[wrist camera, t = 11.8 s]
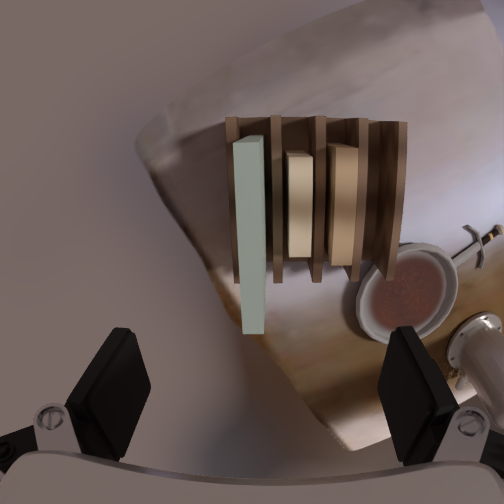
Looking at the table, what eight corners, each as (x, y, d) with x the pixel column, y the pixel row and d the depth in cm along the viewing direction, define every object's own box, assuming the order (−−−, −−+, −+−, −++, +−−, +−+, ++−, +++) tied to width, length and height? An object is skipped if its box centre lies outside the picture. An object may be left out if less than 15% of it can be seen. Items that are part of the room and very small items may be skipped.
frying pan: (516, 271, 39) (382, 365, 46) (506, 264, 42) (378, 353, 48) (494, 181, 34) (335, 289, 41) (483, 177, 37) (331, 279, 44)
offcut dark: (337, 238, 40) (351, 265, 32) (320, 238, 40) (331, 265, 33) (340, 143, 35) (358, 148, 28) (322, 142, 35) (335, 147, 28)
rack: (376, 256, 42) (393, 280, 35) (239, 258, 43) (234, 283, 36) (385, 121, 35) (407, 122, 28) (233, 118, 36) (225, 117, 29)
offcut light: (303, 231, 40) (310, 256, 32) (285, 231, 40) (289, 257, 32) (303, 150, 36) (312, 157, 29) (285, 150, 36) (289, 157, 29)
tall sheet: (266, 247, 41) (263, 333, 24) (254, 247, 41) (242, 333, 24) (263, 134, 35) (259, 142, 19) (250, 134, 36) (232, 143, 19)
